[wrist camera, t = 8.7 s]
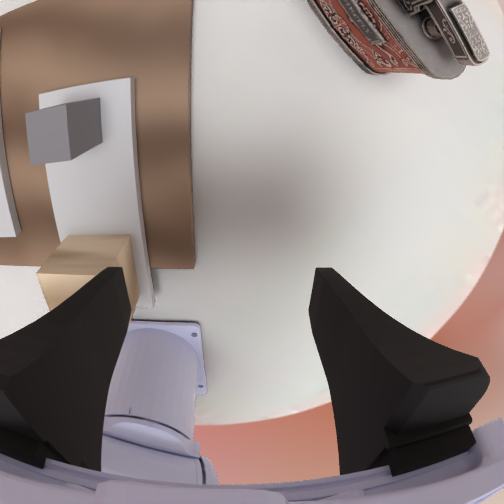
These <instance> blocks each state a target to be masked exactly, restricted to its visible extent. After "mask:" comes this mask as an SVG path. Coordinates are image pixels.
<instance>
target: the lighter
mask: <svg viewBox="0 0 504 504" xmlns="http://www.w3.org/2000/svg"><path fill="white" fill-rule="evenodd" d="M307 2H308V3H309V5H310V7H311V9H312V10H313V12H314V13H315V14H316V16H317V17H318V19H319V20H320V22H321V23H322V24H323V26H324V27H325V29H326V30H327V32H328V33H329V34H330V35H331V36H332V37H333V39H334V40H335V41H336V42H337V43H338V44H339V46H340V47H341V48H342V49H343V50H344V52H345V53H346V54H347V55H348V56H349V57H350V58H351V59H352V60H353V61H354V62H355V63H356V64H357V65H358V66H359V67H360V68H361V69H362V70H363V71H365V72H366V73H368V74H371V75H386V74H389V73H391V72H396V73H421V74H425V75H427V76H429V77H432V78H436V79H454V78H456V77H458V76H459V75H460V74H461V73H462V72H463V71H464V69H465V67H466V65H473V66H480V65H482V64H484V63H485V62H486V61H487V60H488V58H489V55H490V53H489V49H488V47H487V45H486V43H485V41H484V38H483V36H482V34H481V32H480V30H479V28H478V27H477V25H476V23H475V21H474V19H473V17H472V15H471V13H470V12H469V10H468V8H467V6H466V5H465V3H464V2H463V1H462V0H307Z"/></svg>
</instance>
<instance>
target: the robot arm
mask: <svg viewBox="0 0 504 504" xmlns="http://www.w3.org/2000/svg"><path fill="white" fill-rule="evenodd" d="M131 311H132V308H131V304H130V300H129V296H128V291H127V287H126V282H125V277H124V272H123V268H122V267H107V268H105V269H104V270H102V271H101V272H100V273H99V274H97V275H96V276H95V277H93V278H92V279H91V280H90V281H89V282H87V283H86V284H85V285H84V286H82V287H81V288H80V289H79V290H78V291H76V292H75V293H74V294H73V295H71V296H70V297H69V298H67V299H66V300H65V301H63V302H62V303H61V304H59V305H58V306H57V307H56V308H54V309H53V310H51V311H50V312H48V313H47V314H45V315H44V316H42V317H41V318H39V319H38V320H36V321H34V322H33V323H31V324H29V325H27V326H26V327H24V328H22V329H20V330H18V331H16V332H14V333H13V334H11V335H8V336H6V337H4V338H2V339H0V504H479V503H480V502H482V501H484V500H486V499H487V498H489V497H491V496H492V495H494V494H495V493H497V492H498V491H500V490H501V489H502V488H504V422H503V420H502V418H498V419H495V420H493V421H491V422H489V423H486V424H484V425H482V426H480V427H478V428H476V429H475V430H473V431H471V429H470V427H469V424H471V422H472V417H471V416H470V414H469V412H470V411H471V410H472V408H473V407H474V406H475V405H476V404H477V402H478V401H479V400H480V399H481V397H482V396H483V395H484V393H485V392H486V390H487V388H488V385H489V383H490V376H489V375H488V373H487V372H486V370H485V368H484V367H483V365H482V363H481V362H480V360H479V359H478V358H477V357H474V356H471V355H468V354H465V353H462V352H459V351H455V350H453V349H450V348H448V347H445V346H443V345H441V344H438V343H436V342H434V341H432V340H430V339H428V338H426V337H424V336H422V335H420V334H418V333H416V332H414V331H413V330H411V329H409V328H407V327H406V326H404V325H403V324H401V323H400V322H398V321H396V320H395V319H393V318H392V317H390V316H389V315H388V314H386V313H385V312H383V311H382V310H381V309H380V308H378V307H377V306H376V305H374V304H373V303H372V302H371V301H369V300H368V299H367V298H366V297H365V296H363V295H362V294H361V293H360V292H359V291H358V290H356V289H355V288H354V287H353V286H352V285H351V284H350V283H349V282H348V281H346V280H345V279H344V278H343V277H342V276H341V275H340V274H339V273H337V272H336V271H335V270H334V269H333V268H316V270H315V276H314V282H313V288H312V294H311V299H310V305H309V316H310V323H311V328H312V333H313V336H314V340H315V343H316V346H317V349H318V352H319V356H320V359H321V362H322V365H323V368H324V371H325V375H326V378H327V381H328V385H329V389H330V395H331V400H332V406H333V412H334V419H335V426H336V433H337V443H338V452H339V466H340V475H339V476H333V477H326V478H320V479H313V480H304V481H295V482H283V483H269V484H250V485H249V484H247V485H219V484H218V477H217V473H216V470H215V468H214V467H213V465H212V463H211V462H210V460H209V459H208V458H207V457H204V456H200V443H198V442H195V441H193V439H194V422H195V407H196V395H204V394H206V393H207V386H206V377H205V368H204V359H203V349H202V340H201V329H200V326H199V325H198V324H197V323H181V322H151V321H131V322H130V324H129V321H130V316H131ZM128 326H129V327H128ZM193 333H197V334H193Z"/></svg>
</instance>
